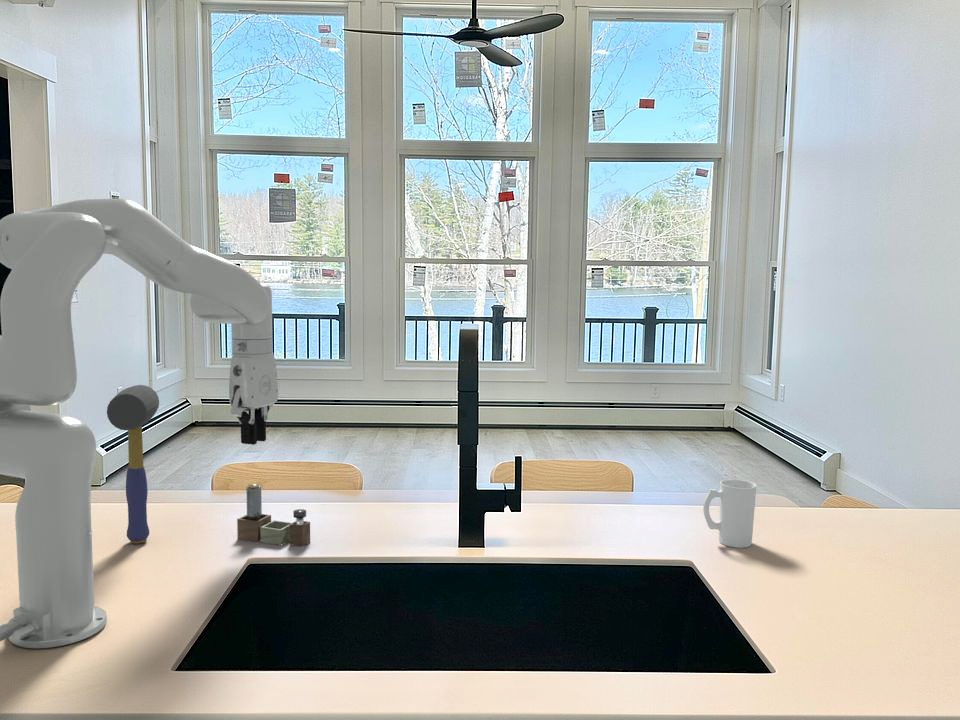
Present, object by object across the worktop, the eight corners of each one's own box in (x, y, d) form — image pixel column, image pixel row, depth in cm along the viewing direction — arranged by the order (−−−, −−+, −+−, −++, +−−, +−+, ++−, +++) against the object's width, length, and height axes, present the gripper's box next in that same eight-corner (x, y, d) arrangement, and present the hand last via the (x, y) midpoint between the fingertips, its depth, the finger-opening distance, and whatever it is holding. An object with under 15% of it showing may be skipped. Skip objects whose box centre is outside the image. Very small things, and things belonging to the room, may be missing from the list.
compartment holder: (300, 548, 151) (300, 527, 150) (237, 539, 155) (237, 519, 155) (312, 540, 155) (312, 520, 155) (251, 531, 159) (251, 512, 159)
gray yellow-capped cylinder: (256, 540, 155) (255, 486, 154) (244, 538, 156) (243, 485, 154) (264, 535, 157) (264, 483, 156) (252, 533, 158) (251, 481, 157)
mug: (745, 537, 161) (748, 479, 160) (758, 548, 155) (761, 488, 153) (696, 537, 161) (699, 479, 159) (707, 548, 154) (710, 488, 153)
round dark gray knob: (302, 544, 152) (302, 513, 151) (291, 542, 153) (291, 512, 152) (308, 540, 154) (308, 510, 153) (297, 538, 155) (297, 508, 154)
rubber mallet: (151, 552, 147) (147, 392, 144) (108, 554, 146) (102, 392, 142) (165, 530, 159) (161, 382, 156) (125, 532, 158) (120, 382, 155)
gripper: (243, 352, 144) (245, 452, 146) (292, 345, 159) (292, 436, 161) (208, 350, 146) (211, 449, 148) (259, 343, 161) (260, 433, 163)
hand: (253, 441), depth 154 cm, fingers closed
